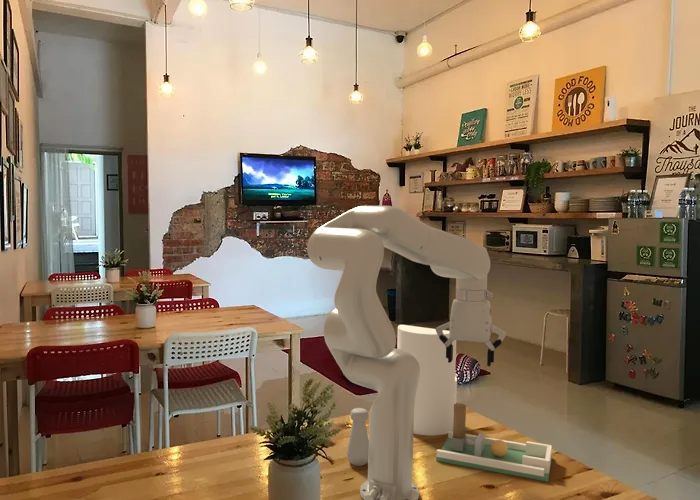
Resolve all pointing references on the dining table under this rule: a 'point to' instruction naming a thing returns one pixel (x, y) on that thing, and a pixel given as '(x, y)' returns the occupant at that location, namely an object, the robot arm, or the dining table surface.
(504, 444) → the ball
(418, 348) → the cylinder
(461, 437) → the striker
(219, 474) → the dining table surface
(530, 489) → the dining table surface
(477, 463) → the pitch
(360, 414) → the salt shaker
